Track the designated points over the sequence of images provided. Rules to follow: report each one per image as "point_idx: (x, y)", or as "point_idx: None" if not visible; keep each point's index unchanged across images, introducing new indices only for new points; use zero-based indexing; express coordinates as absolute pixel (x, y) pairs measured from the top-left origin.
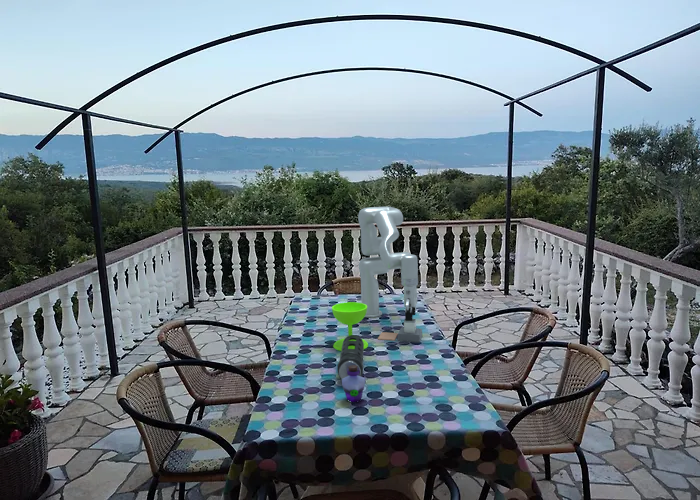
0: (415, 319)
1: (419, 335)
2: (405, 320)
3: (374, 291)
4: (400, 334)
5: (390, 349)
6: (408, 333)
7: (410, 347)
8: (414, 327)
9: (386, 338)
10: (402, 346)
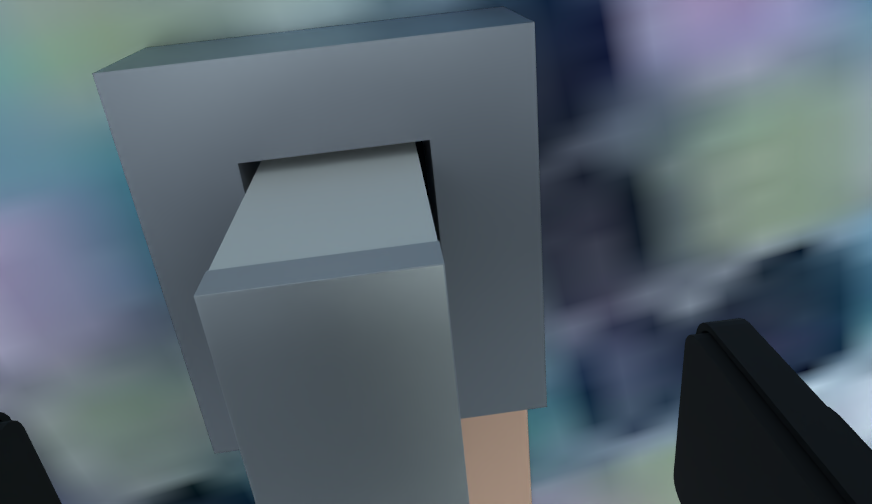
0: (254, 293)
1: (533, 22)
2: (439, 490)
3: None
4: (542, 362)
5: (847, 326)
6: (498, 255)
7: (758, 96)
8: (426, 202)
9: (513, 481)
10: (727, 219)
